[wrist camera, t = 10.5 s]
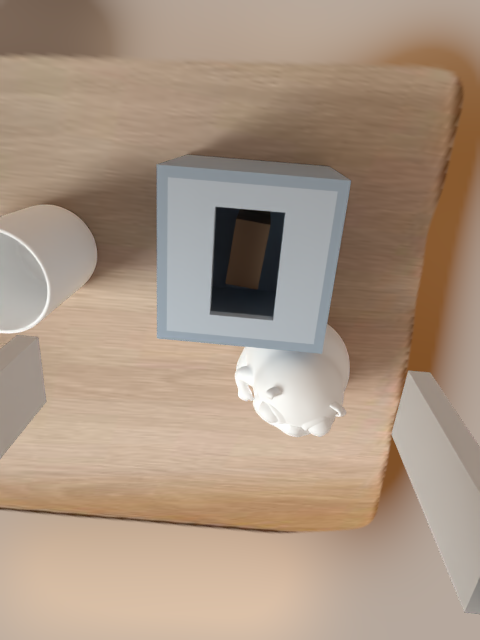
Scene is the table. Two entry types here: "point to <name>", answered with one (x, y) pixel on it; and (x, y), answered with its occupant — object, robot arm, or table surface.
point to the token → (248, 248)
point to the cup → (41, 263)
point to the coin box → (216, 241)
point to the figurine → (296, 385)
